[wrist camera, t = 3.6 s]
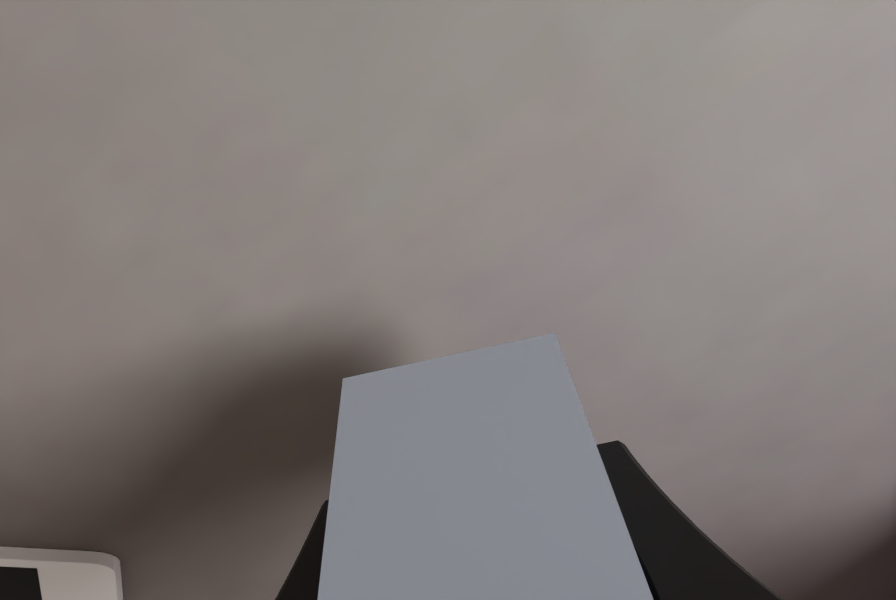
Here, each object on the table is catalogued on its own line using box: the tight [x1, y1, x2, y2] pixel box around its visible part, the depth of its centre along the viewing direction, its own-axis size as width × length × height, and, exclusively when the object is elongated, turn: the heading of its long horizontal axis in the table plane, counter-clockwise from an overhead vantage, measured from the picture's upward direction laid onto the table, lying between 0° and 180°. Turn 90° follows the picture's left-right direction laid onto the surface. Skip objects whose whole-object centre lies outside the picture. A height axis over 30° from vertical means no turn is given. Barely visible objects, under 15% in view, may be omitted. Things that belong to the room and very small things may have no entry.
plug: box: [317, 333, 653, 600], centre depth 12 cm, size 4×4×6 cm
